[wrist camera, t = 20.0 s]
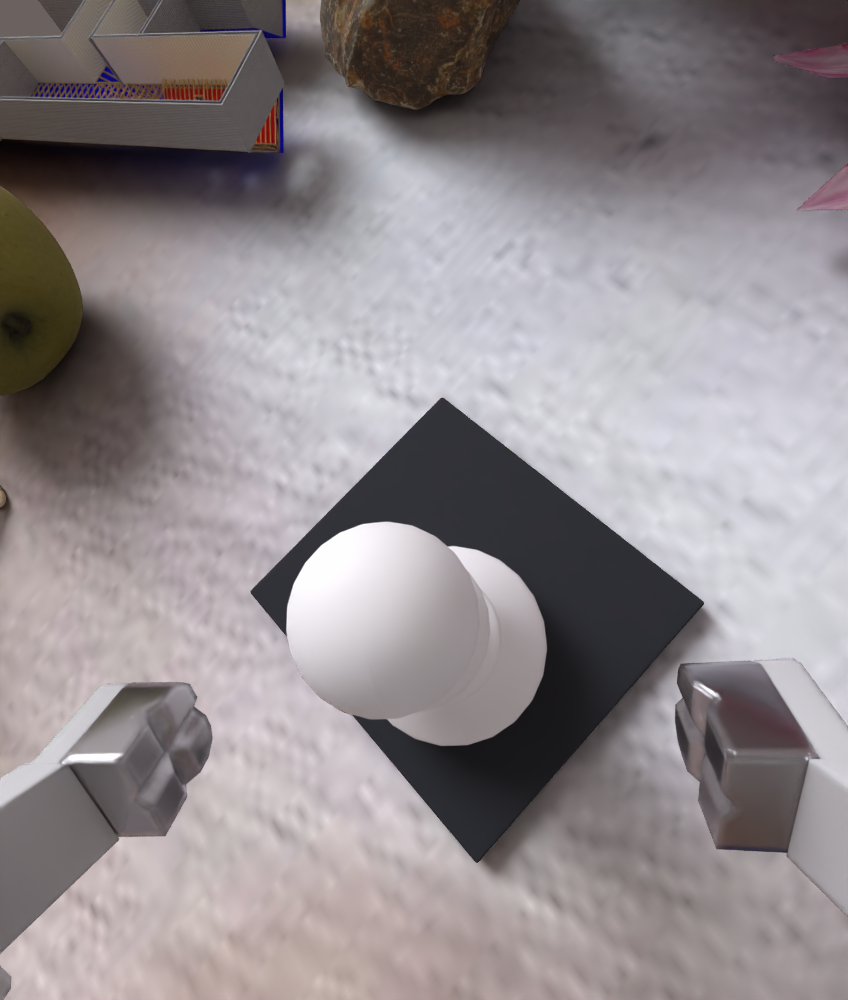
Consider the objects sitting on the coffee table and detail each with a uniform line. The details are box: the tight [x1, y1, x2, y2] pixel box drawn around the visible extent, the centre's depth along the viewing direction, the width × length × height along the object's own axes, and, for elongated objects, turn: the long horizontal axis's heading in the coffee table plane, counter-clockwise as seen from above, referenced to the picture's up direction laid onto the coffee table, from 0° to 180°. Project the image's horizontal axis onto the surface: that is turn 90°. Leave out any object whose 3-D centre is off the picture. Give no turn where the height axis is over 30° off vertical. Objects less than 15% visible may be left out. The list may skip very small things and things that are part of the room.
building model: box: [0, 0, 286, 154], centre depth 25 cm, size 20×11×4 cm, turn 72°
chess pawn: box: [286, 522, 547, 746], centre depth 11 cm, size 5×5×9 cm
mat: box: [251, 398, 704, 863], centre depth 15 cm, size 10×9×1 cm
